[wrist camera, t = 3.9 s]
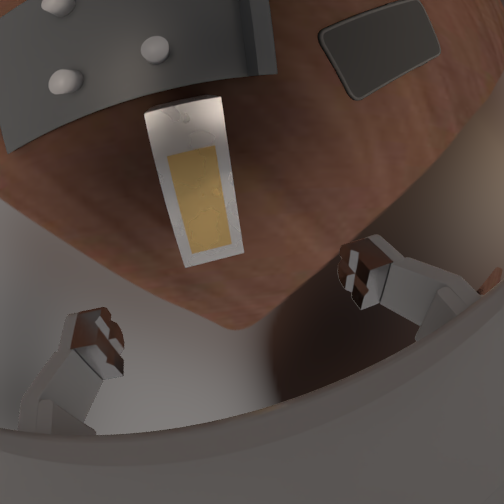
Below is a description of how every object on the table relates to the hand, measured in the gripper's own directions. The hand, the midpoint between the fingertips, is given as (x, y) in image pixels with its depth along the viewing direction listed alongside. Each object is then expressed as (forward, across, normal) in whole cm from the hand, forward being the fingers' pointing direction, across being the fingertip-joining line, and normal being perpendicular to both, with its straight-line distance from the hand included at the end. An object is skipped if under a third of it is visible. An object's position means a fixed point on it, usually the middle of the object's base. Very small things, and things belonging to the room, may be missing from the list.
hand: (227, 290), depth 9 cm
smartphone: (+14, -19, -10) cm, 26 cm away
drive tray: (+14, +4, -12) cm, 19 cm away
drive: (+14, 0, 0) cm, 14 cm away
